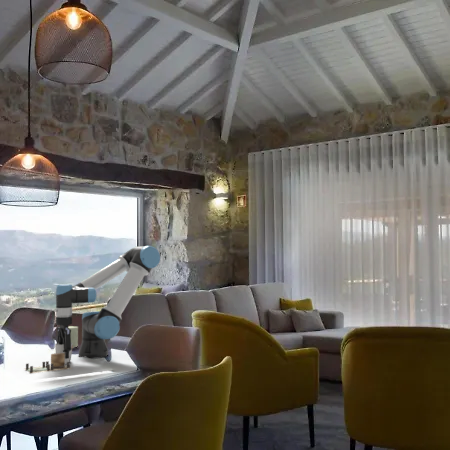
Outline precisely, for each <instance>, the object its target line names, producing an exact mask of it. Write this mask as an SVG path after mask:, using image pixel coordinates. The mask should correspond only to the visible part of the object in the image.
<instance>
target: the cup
mask: <svg viewBox="0 0 450 450" xmlns="http://www.w3.org/2000/svg"><path fill="white" fill-rule="evenodd" d="M72 344H73V343H71V351H69V362H71V359H72V354H73V348H72ZM54 347H55V353H63V350H64V345H63V344H62V345H60V344H59V343H57V342H56V343H54Z"/></svg>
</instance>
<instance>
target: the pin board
mask: <svg viewBox="0 0 450 450" xmlns="http://www.w3.org/2000/svg"><path fill="white" fill-rule="evenodd" d="M49 362H50V361H48V360H47V361H42V366H36V367H35V366H33V365H30V363H25V368H24V370H25V371H27V372H28V373H29V374H36V373H37V374H39V373H47V372H55V371H64V370H72V369H73V368H72V367H70V366H71V365H70V362H71V361H70V362H67V363H66V364H65V367H64V368H59V369H53V364H51V363H49Z"/></svg>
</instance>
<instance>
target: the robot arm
mask: <svg viewBox="0 0 450 450" xmlns="http://www.w3.org/2000/svg"><path fill="white" fill-rule="evenodd" d="M160 261H161V255H160V252H159V250H158V249H157V247H154V246H152V245H145V246H143V245H142V246H141V245H139V246H135V247H132V248H130V249H129V250H127V251H126V252H124V253H122V254H121V255H120V256H118V258H117V259H116V260H115V261H113V262H112V263H110V264H109V265H107V266H105V267H103V268H102V269H100V270H98V271H96V272H95V273H94V274H91V275H89V277H86V278H85V279H84V280H81V281H80V282H78V283H77V284H75V285H74V286H73V285H72V284H67V283H66V284H63V283H62V284H58V285H57V286H56V288H55V290H56V291H55V305H56V306H55V310H54V312H55V316H56V318H55V324H56V326H58V327H57V329H56V330H57V333H56V343H59V344H60V345H62V344H63V345H64V350H63V353H64V354H65V365H67V362H69V351H71V330H69V328H68V326H71V325H72V324H73V305H75V304H90V303H95V301H96V300H97V290H98V289H99V288H101V287H103V286H104V285H106V284H107V283H109V282H110V281H112V280H114V279H115V278H117V277H118V276H120V275H122V274H123V273H125V272H127V273H126V274H125V275H124V277H123V278H122V280H121V282H120V283H119V286H118V287H117V289H116V290H115V292H114V294H113V295H112V297H111V298H110V300H109V301H108V303H107V305H106V306H104V307H102V308H101V309H100V310H99V311H87V312H86V311H85V312H83V313H82V315H81V324H82V325H81V330H82V331H81V344H80V346H79V350H78V358H84V357H85V358H87V359H98V358H99V359H100V358H105V357H107V355H108V356H109V350H108V346H107V343H106V340H110V339H113V338H115V337H116V335H117V334H118V333H119V332H120V328H121V326H120V323H121V322H122V320H123V319H122V318H123V317H122V313H124V311H125V309H126V308H127V305H128V304H129V302H130V301H131V299H132V297H133V295H134V294H135V292H136V291H137V289H138V287H139V286H140V283H141V282H142V280H143V279H144V277H145V276H148V275H149V274H150V272H151V271H152V269H154V268H156V267H157V266H158V265H159V263H160Z"/></svg>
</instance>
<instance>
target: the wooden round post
mask: <svg viewBox="0 0 450 450" xmlns="http://www.w3.org/2000/svg"><path fill="white" fill-rule="evenodd" d="M51 364H53V369H59V368H64V367H65V365H66V364H65V354H64V353H56V352H54V353H51V354H50V365H51Z"/></svg>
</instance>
